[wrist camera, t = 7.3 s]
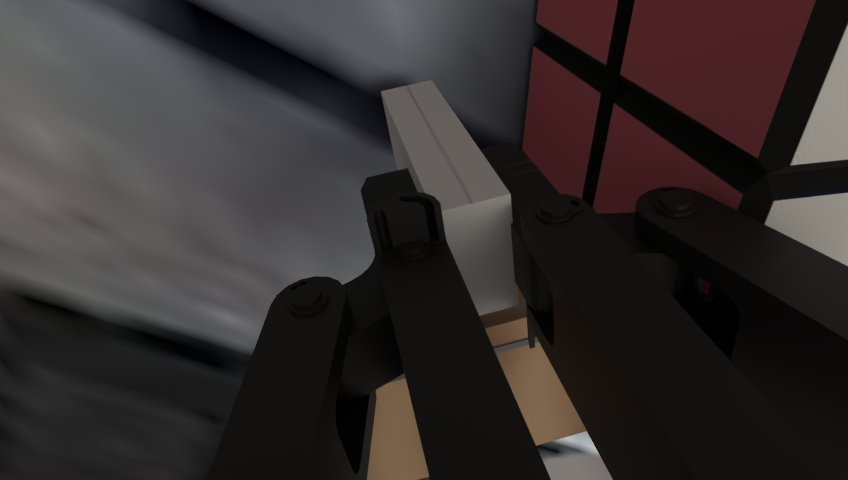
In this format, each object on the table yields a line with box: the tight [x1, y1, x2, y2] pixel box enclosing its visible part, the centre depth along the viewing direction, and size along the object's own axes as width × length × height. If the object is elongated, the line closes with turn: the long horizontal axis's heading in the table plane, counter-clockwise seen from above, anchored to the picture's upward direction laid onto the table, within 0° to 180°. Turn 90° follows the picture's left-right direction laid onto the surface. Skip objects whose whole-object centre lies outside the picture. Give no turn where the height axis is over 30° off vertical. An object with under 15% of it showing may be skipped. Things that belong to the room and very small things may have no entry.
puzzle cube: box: [522, 0, 848, 298], centre depth 14 cm, size 10×10×10 cm
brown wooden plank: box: [367, 286, 587, 480], centre depth 24 cm, size 26×8×2 cm, turn 100°
